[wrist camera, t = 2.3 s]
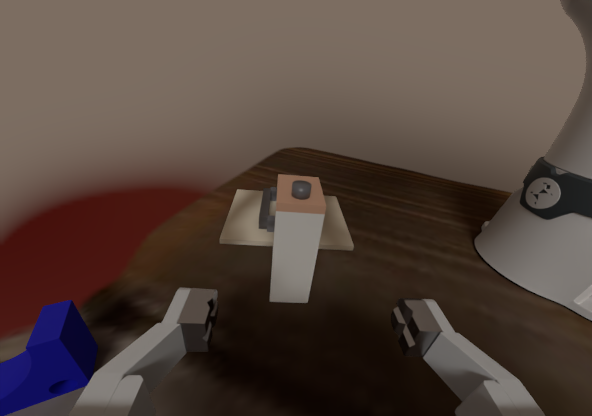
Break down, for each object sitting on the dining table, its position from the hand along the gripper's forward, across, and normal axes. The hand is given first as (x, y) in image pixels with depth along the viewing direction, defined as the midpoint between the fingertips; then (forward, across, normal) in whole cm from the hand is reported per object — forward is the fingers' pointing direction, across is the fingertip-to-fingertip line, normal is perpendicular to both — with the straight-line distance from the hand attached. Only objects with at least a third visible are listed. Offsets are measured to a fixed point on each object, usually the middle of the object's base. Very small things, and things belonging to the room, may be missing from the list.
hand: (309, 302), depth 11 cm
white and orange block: (+12, 0, +12) cm, 18 cm away
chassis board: (+26, 0, +12) cm, 28 cm away
